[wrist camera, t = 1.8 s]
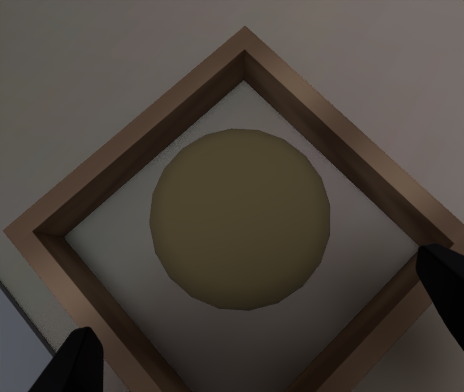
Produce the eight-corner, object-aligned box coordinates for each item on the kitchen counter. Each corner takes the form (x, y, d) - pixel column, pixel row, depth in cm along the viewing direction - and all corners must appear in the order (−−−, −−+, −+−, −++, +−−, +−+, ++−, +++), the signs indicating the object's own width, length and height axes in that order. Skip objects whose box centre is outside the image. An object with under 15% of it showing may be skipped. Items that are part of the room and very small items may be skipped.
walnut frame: (447, 248, 19) (485, 244, 16) (233, 476, 17) (232, 519, 14) (244, 58, 22) (245, 25, 19) (38, 236, 20) (2, 230, 17)
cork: (283, 311, 19) (342, 366, 8) (173, 285, 19) (86, 303, 8) (303, 201, 20) (379, 119, 9) (199, 179, 20) (154, 75, 9)
